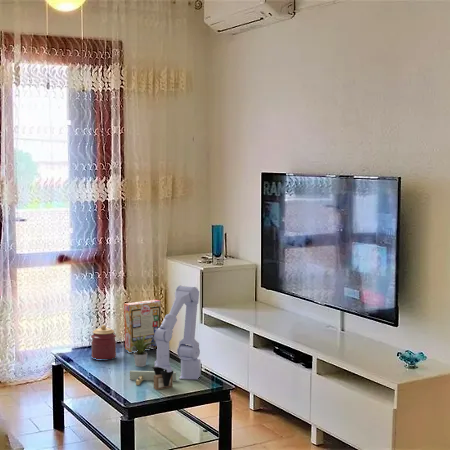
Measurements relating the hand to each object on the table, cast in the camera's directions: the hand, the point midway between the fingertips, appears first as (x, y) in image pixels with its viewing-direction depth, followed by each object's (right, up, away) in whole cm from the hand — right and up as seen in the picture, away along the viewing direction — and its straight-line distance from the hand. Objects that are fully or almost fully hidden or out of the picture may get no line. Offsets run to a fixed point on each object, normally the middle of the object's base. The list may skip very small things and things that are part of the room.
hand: (162, 384), depth 329 cm
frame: (0, -2, 0) cm, 2 cm away
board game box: (-17, +3, +71) cm, 73 cm away
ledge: (-6, -1, +8) cm, 10 cm away
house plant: (-15, +1, +38) cm, 41 cm away
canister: (-36, +2, +54) cm, 65 cm away
